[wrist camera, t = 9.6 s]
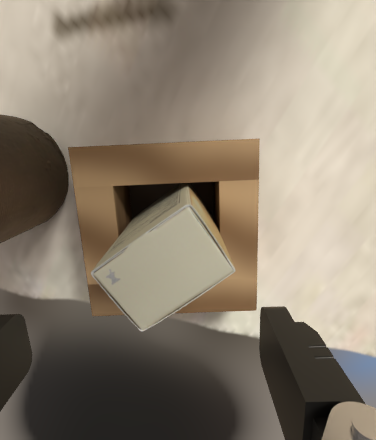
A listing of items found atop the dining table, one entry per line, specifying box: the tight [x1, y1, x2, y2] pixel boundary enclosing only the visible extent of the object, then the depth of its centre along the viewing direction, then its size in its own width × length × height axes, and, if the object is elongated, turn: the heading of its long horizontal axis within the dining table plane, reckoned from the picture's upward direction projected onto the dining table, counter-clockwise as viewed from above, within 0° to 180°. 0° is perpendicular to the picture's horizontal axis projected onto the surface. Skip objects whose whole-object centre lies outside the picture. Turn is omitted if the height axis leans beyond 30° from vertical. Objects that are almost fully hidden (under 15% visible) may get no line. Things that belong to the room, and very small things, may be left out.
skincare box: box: [91, 183, 235, 332], centre depth 20 cm, size 6×4×12 cm
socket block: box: [68, 139, 259, 316], centre depth 23 cm, size 13×13×5 cm
